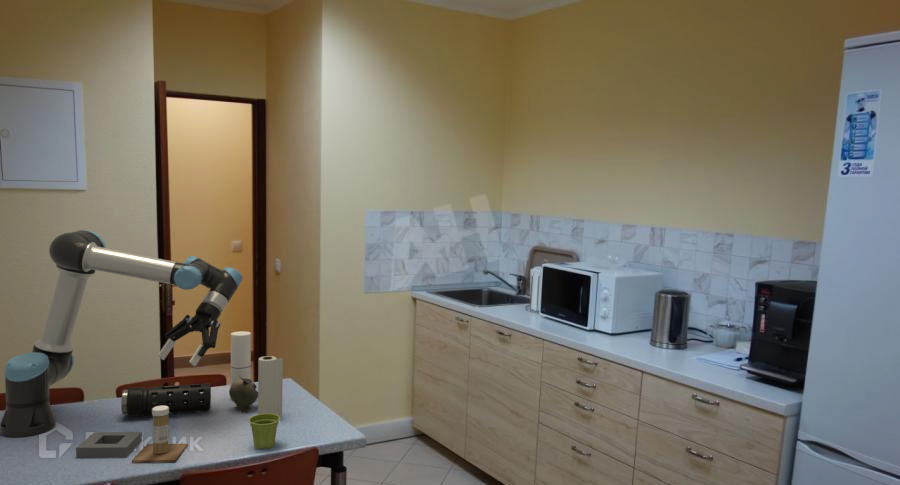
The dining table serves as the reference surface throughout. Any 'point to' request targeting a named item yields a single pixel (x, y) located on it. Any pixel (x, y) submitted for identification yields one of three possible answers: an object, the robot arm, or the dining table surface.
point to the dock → (109, 444)
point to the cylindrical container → (240, 355)
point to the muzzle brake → (166, 399)
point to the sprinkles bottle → (160, 429)
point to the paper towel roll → (270, 385)
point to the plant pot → (264, 430)
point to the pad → (168, 457)
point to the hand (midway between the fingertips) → (176, 361)
